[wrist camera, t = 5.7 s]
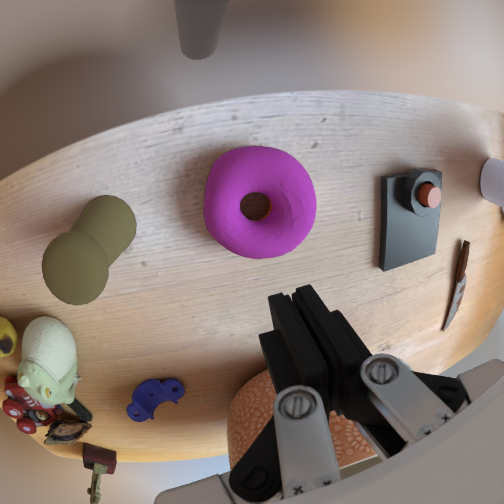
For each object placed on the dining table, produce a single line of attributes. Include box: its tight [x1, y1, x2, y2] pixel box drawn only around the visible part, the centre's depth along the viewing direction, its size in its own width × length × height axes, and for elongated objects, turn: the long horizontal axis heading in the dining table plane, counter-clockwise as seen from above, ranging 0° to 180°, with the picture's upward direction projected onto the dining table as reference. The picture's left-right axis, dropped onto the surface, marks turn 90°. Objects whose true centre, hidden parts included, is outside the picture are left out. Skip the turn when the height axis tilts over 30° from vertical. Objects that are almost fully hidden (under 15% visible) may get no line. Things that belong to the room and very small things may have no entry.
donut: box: [203, 146, 316, 259], centre depth 25 cm, size 10×10×5 cm
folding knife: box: [67, 398, 92, 421], centre depth 33 cm, size 10×1×3 cm
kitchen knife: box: [443, 240, 470, 331], centre depth 40 cm, size 21×2×5 cm
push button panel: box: [379, 168, 442, 272], centre depth 30 cm, size 13×10×3 cm
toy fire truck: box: [2, 376, 63, 434], centre depth 30 cm, size 7×12×10 cm
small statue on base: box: [83, 443, 117, 504], centre depth 36 cm, size 10×8×15 cm
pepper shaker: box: [42, 195, 136, 305], centre depth 20 cm, size 6×6×11 cm
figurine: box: [17, 316, 81, 405], centre depth 25 cm, size 10×16×10 cm, turn 147°
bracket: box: [126, 379, 185, 422], centre depth 34 cm, size 9×5×3 cm, turn 108°
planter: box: [227, 369, 383, 480], centre depth 31 cm, size 21×21×19 cm
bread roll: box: [44, 419, 92, 445], centre depth 33 cm, size 11×8×4 cm
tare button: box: [418, 183, 441, 208], centre depth 26 cm, size 3×3×2 cm
